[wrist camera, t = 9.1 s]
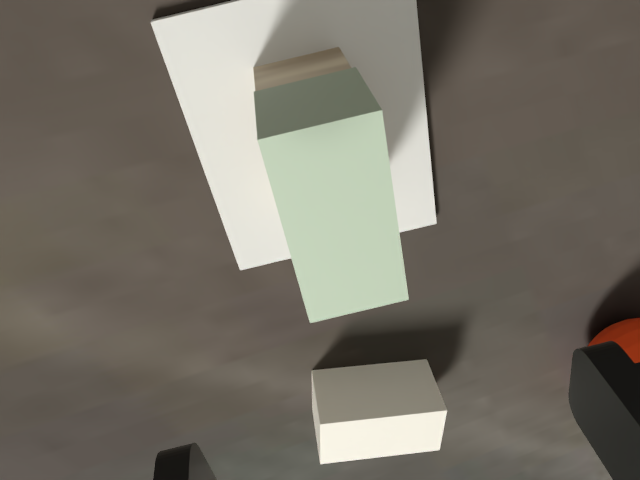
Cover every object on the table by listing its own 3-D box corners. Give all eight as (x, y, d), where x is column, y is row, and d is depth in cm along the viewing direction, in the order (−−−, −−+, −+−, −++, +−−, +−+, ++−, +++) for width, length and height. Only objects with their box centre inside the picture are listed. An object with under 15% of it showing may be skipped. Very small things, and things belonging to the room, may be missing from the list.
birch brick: (253, 67, 22) (256, 102, 18) (338, 46, 22) (357, 77, 18) (292, 213, 26) (300, 263, 22) (365, 196, 26) (384, 243, 22)
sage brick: (253, 91, 18) (257, 139, 15) (355, 67, 18) (382, 109, 15) (299, 256, 22) (310, 322, 19) (383, 236, 22) (408, 299, 19)
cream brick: (312, 407, 34) (320, 464, 31) (311, 368, 33) (320, 424, 29) (420, 396, 35) (439, 449, 32) (425, 357, 33) (447, 410, 30)
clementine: (555, 396, 37) (615, 495, 31) (531, 331, 33) (594, 430, 27) (673, 347, 35) (759, 441, 30) (662, 275, 32) (758, 366, 26)
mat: (151, 19, 21) (150, 21, 20) (409, -43, 21) (412, -42, 20) (240, 265, 28) (240, 270, 27) (434, 219, 27) (436, 223, 27)
